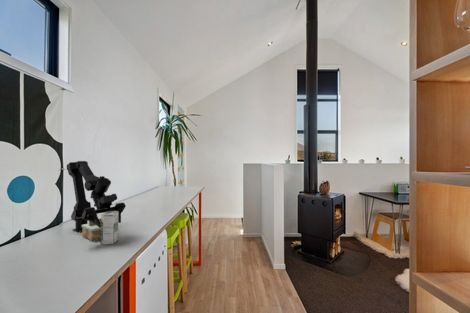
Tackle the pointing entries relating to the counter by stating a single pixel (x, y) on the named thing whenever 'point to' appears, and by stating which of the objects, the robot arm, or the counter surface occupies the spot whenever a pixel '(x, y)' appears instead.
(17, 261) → the counter surface
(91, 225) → the lid
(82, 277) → the counter surface
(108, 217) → the syrup box
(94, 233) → the toolbox
